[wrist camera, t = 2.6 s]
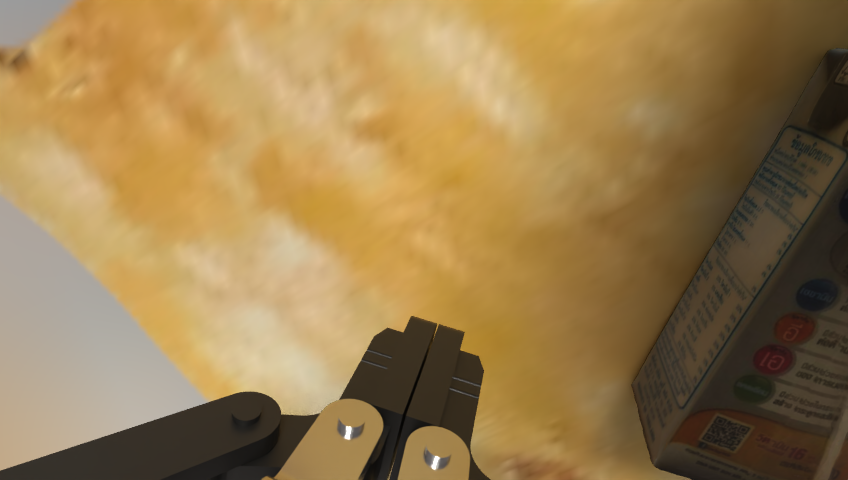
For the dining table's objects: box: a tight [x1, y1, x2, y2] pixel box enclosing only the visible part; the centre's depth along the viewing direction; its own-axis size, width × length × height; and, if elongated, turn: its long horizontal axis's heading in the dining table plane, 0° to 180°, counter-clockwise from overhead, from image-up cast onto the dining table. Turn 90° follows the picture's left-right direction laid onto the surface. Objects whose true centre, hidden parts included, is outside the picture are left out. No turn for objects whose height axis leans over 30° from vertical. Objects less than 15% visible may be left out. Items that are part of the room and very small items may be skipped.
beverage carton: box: [632, 48, 848, 480], centre depth 22 cm, size 8×19×7 cm, turn 165°
